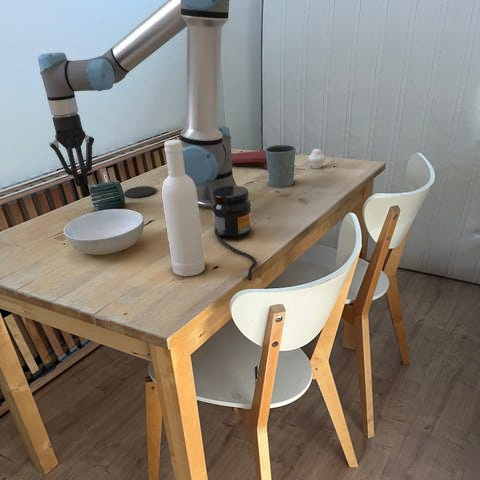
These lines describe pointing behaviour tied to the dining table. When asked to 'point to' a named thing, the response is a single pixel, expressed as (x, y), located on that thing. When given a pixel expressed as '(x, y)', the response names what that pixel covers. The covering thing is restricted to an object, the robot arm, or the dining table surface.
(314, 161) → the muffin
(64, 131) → the robot arm
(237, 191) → the supplement container
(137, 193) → the coaster
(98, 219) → the serving bowl
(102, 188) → the teal ridged cylinder
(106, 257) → the dining table surface
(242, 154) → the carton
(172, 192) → the bottle
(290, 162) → the green plant pot
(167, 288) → the dining table surface
